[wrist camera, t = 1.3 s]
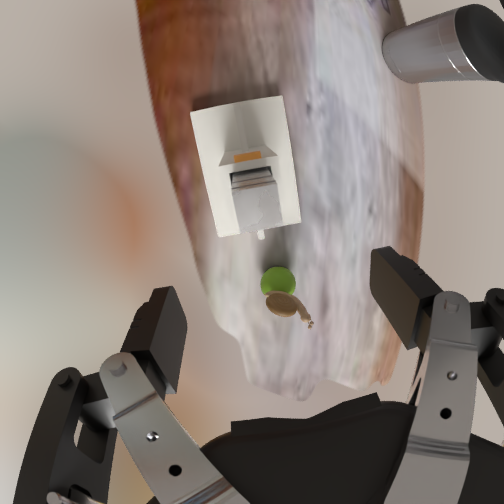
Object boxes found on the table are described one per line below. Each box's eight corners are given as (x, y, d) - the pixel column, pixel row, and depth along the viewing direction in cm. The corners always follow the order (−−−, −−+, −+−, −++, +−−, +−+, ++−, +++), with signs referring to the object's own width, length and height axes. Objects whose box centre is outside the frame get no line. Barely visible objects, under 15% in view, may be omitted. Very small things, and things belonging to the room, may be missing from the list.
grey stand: (192, 112, 34) (167, 108, 21) (279, 96, 33) (303, 84, 21) (219, 232, 42) (212, 283, 29) (298, 217, 41) (324, 262, 29)
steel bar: (233, 159, 34) (230, 191, 19) (259, 154, 34) (277, 183, 19) (238, 183, 36) (239, 234, 21) (263, 179, 36) (284, 226, 20)
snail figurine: (291, 292, 47) (305, 341, 37) (255, 285, 46) (260, 335, 36) (302, 265, 45) (321, 311, 34) (264, 257, 44) (273, 303, 33)
